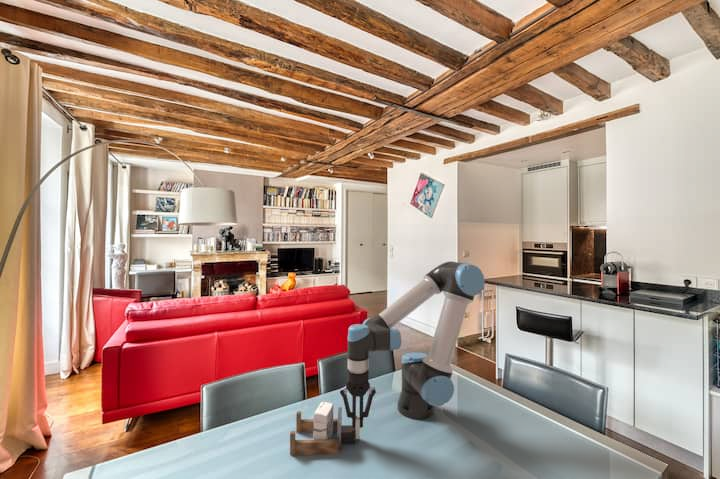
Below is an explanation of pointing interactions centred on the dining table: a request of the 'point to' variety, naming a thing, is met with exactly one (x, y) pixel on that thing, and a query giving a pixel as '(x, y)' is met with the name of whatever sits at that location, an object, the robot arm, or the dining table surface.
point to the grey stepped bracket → (345, 431)
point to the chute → (312, 445)
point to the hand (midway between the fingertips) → (357, 435)
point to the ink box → (323, 421)
